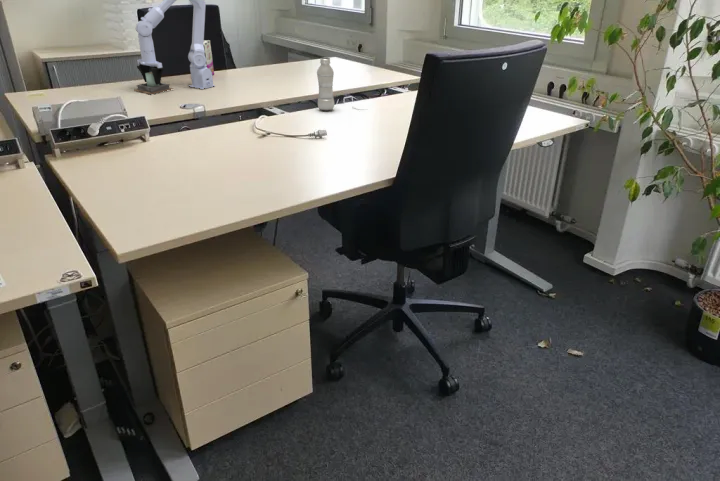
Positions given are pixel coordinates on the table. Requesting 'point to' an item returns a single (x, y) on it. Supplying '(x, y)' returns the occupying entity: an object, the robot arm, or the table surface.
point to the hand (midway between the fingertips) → (152, 82)
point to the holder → (152, 88)
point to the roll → (150, 80)
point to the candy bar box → (208, 55)
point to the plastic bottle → (325, 85)
